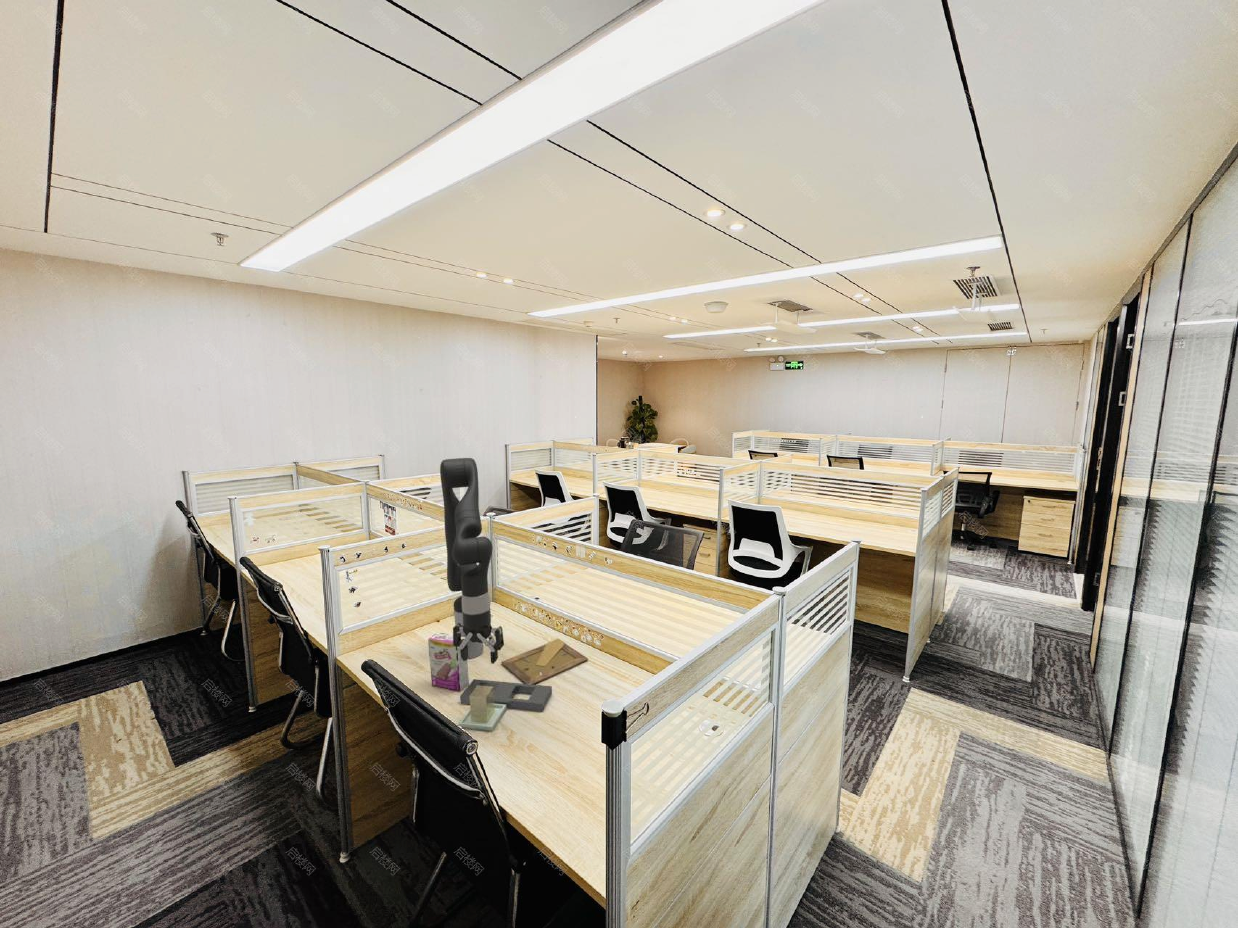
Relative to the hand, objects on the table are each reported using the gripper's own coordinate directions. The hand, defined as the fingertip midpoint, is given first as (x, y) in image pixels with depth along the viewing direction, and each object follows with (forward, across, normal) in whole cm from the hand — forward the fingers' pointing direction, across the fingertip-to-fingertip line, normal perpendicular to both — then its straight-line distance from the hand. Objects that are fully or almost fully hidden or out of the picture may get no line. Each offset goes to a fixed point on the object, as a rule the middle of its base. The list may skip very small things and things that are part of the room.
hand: (479, 660), depth 144 cm
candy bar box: (+18, -18, +14) cm, 29 cm away
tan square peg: (+17, 0, 0) cm, 17 cm away
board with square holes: (+18, +3, +10) cm, 21 cm away
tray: (+18, 0, 0) cm, 18 cm away
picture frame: (+19, +8, +31) cm, 37 cm away
